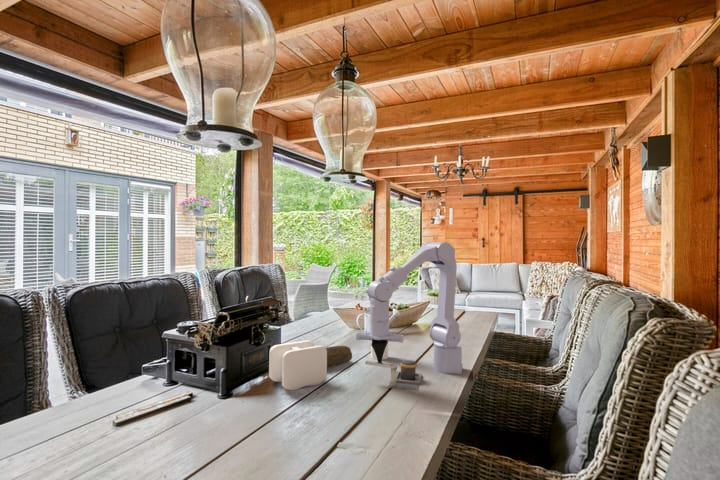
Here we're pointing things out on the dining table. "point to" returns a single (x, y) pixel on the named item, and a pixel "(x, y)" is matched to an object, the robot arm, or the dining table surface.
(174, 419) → the dining table surface
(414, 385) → the socket
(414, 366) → the plug
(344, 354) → the brown cylinder
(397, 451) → the dining table surface
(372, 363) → the brushed metal lever
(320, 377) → the cable organizer
